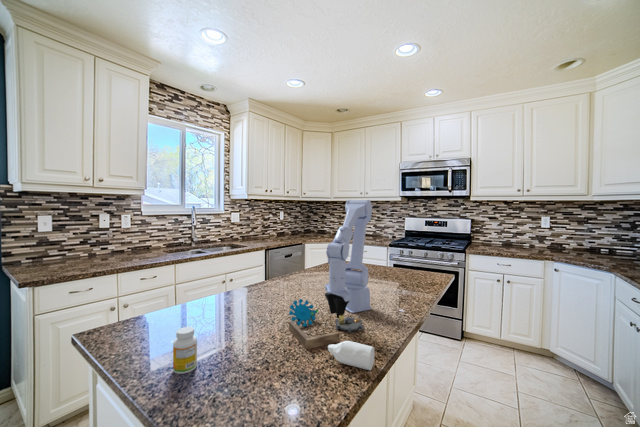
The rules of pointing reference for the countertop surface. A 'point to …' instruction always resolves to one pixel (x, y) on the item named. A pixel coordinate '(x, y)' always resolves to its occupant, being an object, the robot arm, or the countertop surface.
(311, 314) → the gear
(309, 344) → the tray
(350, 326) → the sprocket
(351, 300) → the robot arm
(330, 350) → the white plastic bottle
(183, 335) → the supplement bottle
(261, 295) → the countertop surface
